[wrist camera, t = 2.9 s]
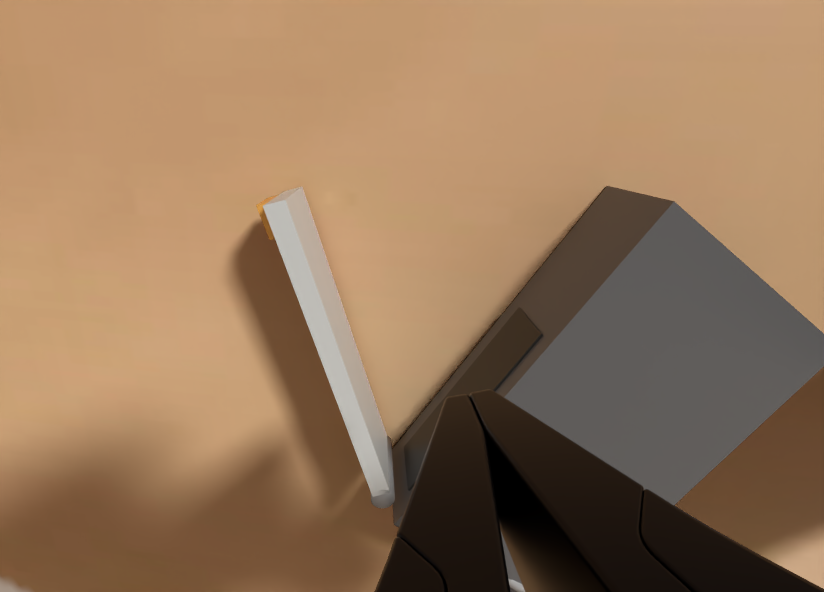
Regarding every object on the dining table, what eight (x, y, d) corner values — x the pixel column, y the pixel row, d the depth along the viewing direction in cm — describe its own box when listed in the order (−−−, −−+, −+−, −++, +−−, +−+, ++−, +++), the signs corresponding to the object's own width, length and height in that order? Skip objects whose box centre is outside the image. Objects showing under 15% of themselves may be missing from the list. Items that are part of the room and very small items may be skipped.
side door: (273, 194, 14) (249, 209, 11) (304, 185, 14) (289, 198, 11) (368, 454, 18) (367, 512, 15) (393, 448, 18) (397, 504, 15)
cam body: (605, 184, 15) (684, 202, 11) (749, 307, 17) (858, 357, 13) (374, 468, 18) (375, 556, 15) (520, 541, 21) (553, 635, 17)
